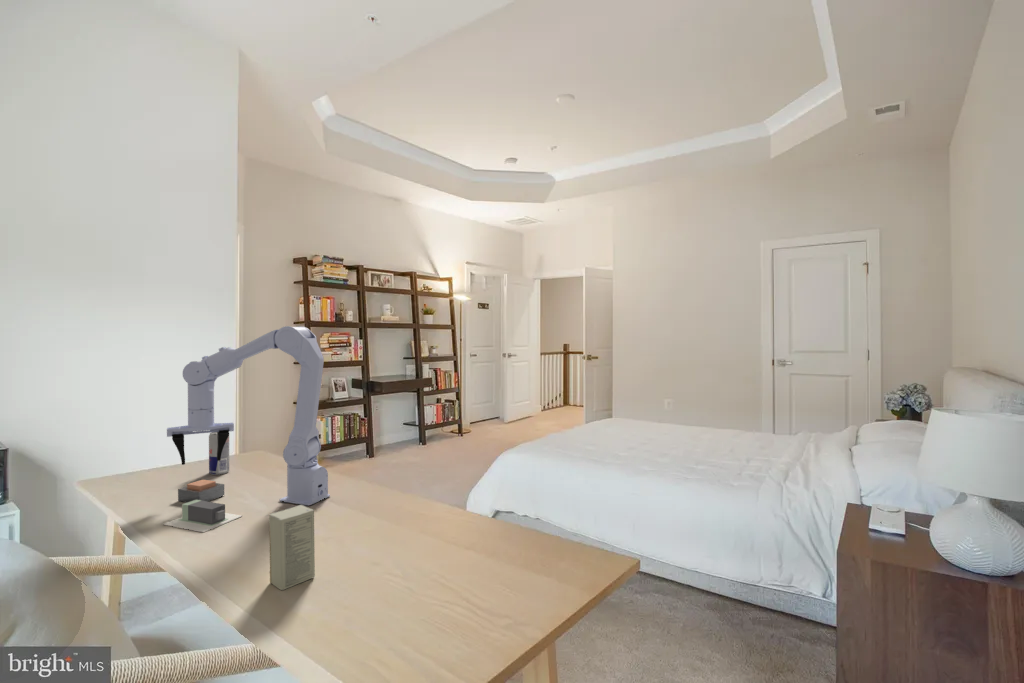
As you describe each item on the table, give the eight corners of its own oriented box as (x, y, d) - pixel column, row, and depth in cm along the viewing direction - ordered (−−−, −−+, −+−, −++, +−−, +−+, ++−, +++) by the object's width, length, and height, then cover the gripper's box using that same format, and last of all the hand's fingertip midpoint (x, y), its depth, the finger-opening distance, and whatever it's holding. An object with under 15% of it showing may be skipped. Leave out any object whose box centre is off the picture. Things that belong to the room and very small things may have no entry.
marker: (228, 519, 117) (228, 505, 117) (215, 525, 114) (215, 509, 114) (196, 514, 121) (195, 499, 121) (182, 519, 118) (182, 504, 118)
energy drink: (209, 471, 157) (209, 431, 157) (230, 469, 160) (229, 430, 159) (208, 476, 152) (207, 435, 152) (228, 474, 155) (228, 433, 154)
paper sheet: (242, 516, 120) (242, 515, 120) (203, 532, 111) (203, 531, 111) (203, 510, 124) (203, 508, 124) (163, 524, 115) (163, 523, 115)
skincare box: (302, 570, 94) (302, 503, 94) (315, 578, 91) (315, 509, 91) (268, 583, 89) (267, 513, 89) (280, 591, 86) (280, 519, 86)
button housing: (224, 495, 135) (224, 484, 135) (199, 504, 128) (199, 492, 128) (203, 492, 137) (203, 481, 137) (178, 500, 131) (178, 489, 130)
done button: (215, 489, 134) (215, 481, 134) (200, 494, 130) (200, 486, 130) (202, 487, 136) (202, 479, 135) (187, 492, 131) (187, 484, 131)
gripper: (232, 404, 139) (232, 454, 140) (167, 408, 131) (167, 461, 132) (234, 407, 133) (234, 460, 134) (166, 412, 126) (166, 468, 126)
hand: (201, 461), depth 132 cm, fingers open, 7 cm apart
